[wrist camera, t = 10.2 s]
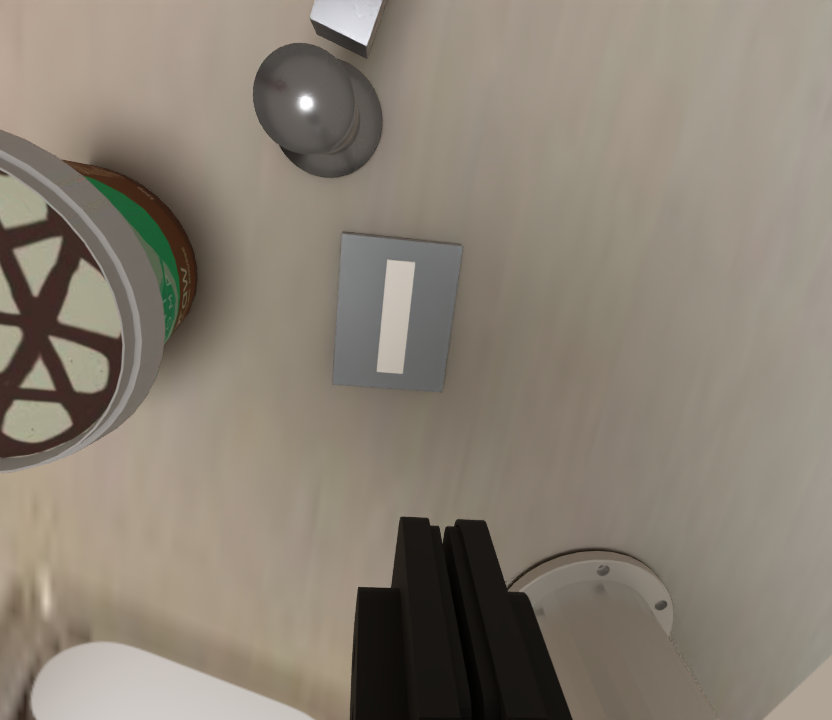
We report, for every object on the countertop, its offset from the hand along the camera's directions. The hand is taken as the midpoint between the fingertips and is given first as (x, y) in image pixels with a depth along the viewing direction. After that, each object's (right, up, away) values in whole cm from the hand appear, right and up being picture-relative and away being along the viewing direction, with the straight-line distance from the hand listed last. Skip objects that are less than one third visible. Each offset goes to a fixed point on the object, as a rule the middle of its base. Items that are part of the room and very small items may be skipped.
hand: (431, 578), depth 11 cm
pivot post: (-4, +15, +14) cm, 21 cm away
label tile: (-1, +7, +18) cm, 19 cm away
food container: (-13, +9, +16) cm, 23 cm away
